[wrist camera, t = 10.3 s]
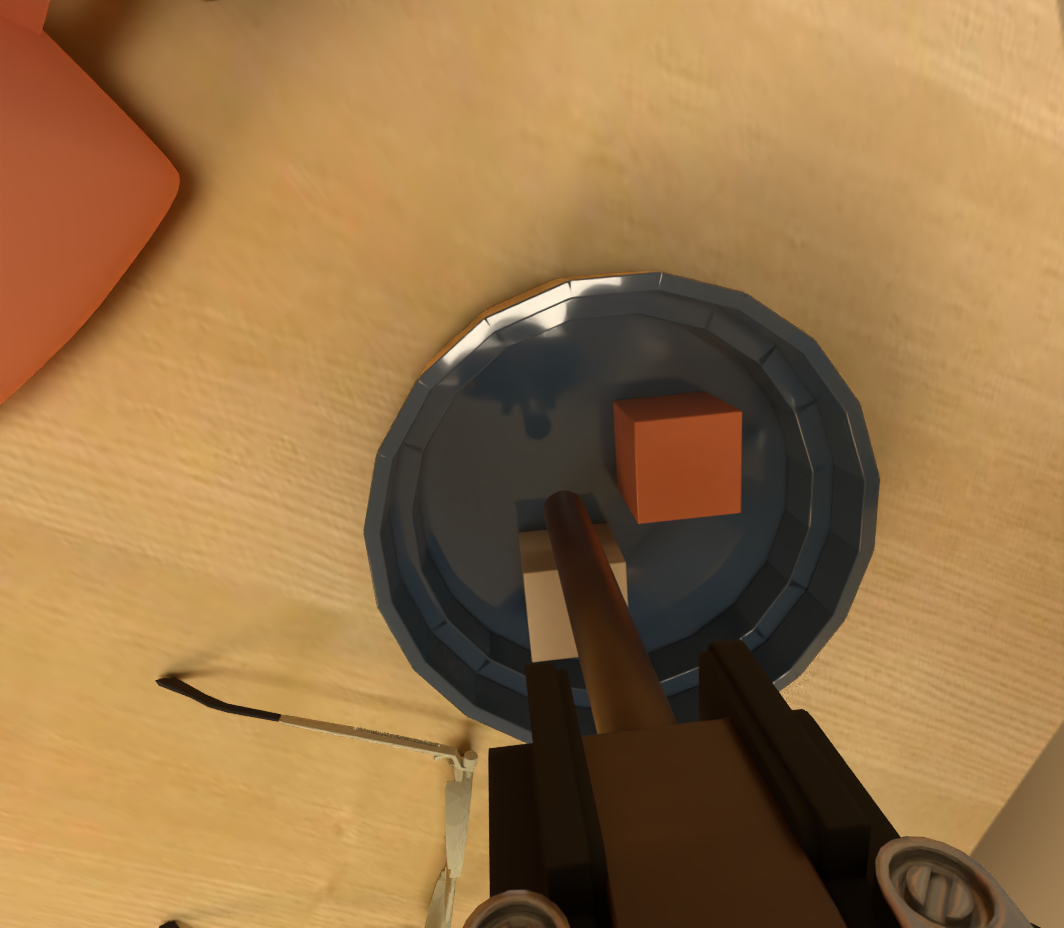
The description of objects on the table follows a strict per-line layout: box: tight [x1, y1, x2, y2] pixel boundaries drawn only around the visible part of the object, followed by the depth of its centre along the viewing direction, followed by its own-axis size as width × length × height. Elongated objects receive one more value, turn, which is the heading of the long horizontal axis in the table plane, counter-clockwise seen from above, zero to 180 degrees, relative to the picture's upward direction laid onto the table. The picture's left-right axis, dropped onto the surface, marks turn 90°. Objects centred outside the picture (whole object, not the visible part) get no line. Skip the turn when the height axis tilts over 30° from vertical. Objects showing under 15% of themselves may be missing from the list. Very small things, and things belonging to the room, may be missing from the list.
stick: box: [543, 491, 848, 928], centre depth 14 cm, size 2×2×16 cm
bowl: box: [363, 271, 880, 744], centre depth 26 cm, size 19×19×5 cm
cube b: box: [519, 523, 628, 662], centre depth 27 cm, size 4×4×4 cm
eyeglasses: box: [156, 677, 478, 928], centre depth 30 cm, size 17×15×5 cm
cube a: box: [613, 391, 742, 524], centre depth 25 cm, size 4×4×4 cm
